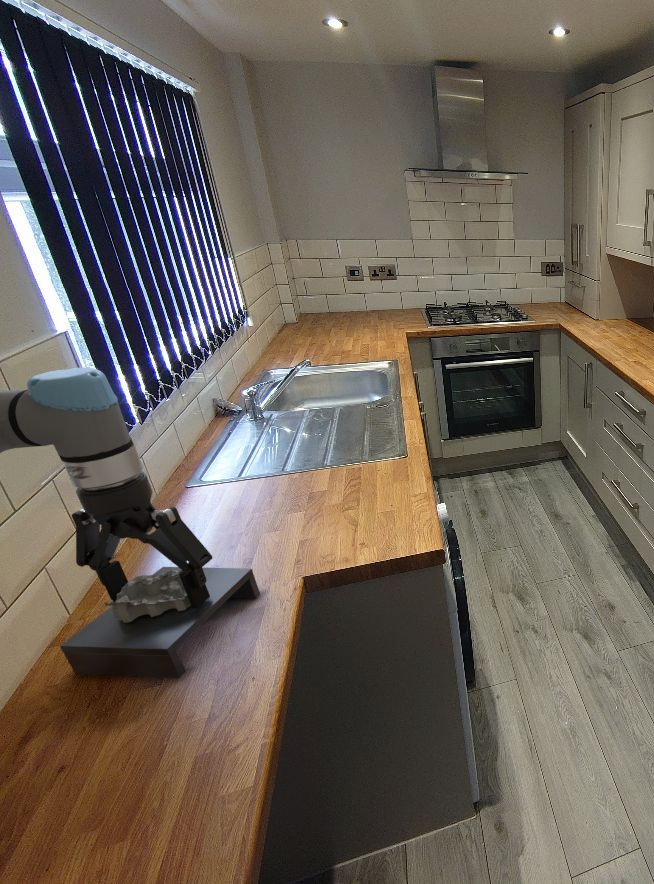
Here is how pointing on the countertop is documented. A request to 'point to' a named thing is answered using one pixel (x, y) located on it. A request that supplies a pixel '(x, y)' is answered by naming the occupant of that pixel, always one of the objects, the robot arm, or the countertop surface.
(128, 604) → the egg carton
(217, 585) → the shelf
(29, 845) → the countertop surface
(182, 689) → the countertop surface
